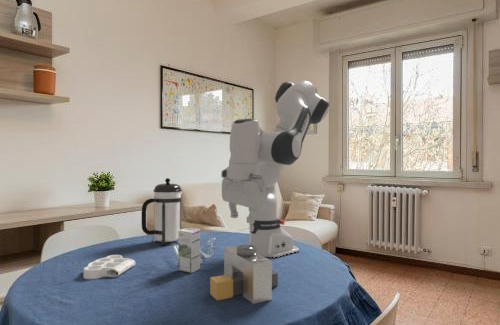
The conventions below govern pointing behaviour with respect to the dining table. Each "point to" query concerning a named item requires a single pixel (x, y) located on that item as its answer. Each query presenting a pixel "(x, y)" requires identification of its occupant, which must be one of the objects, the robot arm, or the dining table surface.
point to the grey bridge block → (250, 271)
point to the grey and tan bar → (231, 286)
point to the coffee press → (165, 212)
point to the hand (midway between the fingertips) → (242, 220)
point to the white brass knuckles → (108, 267)
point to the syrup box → (188, 250)
